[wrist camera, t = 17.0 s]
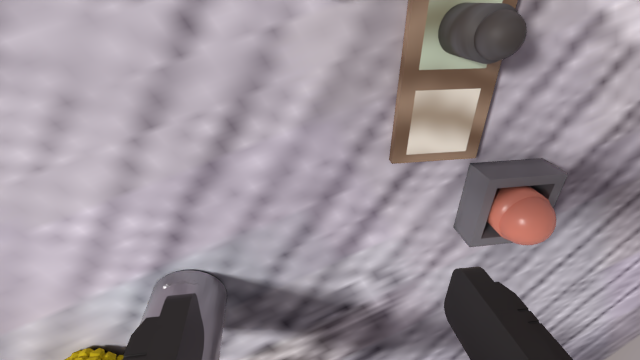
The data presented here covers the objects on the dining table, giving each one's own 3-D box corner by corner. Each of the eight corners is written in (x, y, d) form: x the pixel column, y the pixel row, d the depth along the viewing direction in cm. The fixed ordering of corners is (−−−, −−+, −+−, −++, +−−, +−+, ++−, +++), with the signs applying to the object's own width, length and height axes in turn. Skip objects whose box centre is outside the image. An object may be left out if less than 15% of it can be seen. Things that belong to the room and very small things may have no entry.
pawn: (477, 54, 31) (531, 69, 25) (434, 55, 31) (478, 70, 24) (489, 2, 29) (552, 4, 23) (443, 2, 29) (495, 3, 22)
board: (470, 154, 38) (475, 158, 37) (389, 159, 37) (392, 163, 36) (517, -27, 29) (525, -28, 28) (411, -29, 28) (416, -29, 27)
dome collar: (518, 221, 45) (539, 239, 41) (453, 227, 44) (469, 247, 40) (542, 158, 40) (568, 173, 37) (470, 163, 39) (490, 179, 35)
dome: (522, 222, 42) (559, 254, 37) (476, 227, 41) (507, 260, 36) (539, 179, 39) (581, 207, 34) (490, 183, 38) (525, 213, 33)
